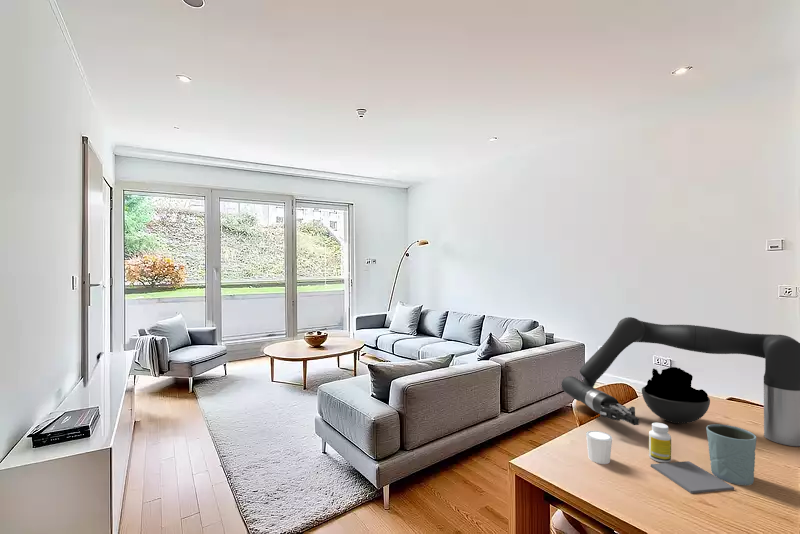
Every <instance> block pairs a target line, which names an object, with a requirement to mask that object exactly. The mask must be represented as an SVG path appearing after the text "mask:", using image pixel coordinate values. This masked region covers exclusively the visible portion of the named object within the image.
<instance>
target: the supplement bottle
mask: <svg viewBox="0 0 800 534" xmlns="http://www.w3.org/2000/svg"><path fill="white" fill-rule="evenodd" d="M668 432H669V426H668V425H667V424H665V423H662V422H652V423H651V430H649V432H648V457H649V458H650V459H651V460H653V461H655V462H658V463H671V461H672V437H671V435H670V433H668Z"/></svg>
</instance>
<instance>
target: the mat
mask: <svg viewBox="0 0 800 534" xmlns="http://www.w3.org/2000/svg"><path fill="white" fill-rule="evenodd" d="M650 467H651V468H653V469H654V470H655V471H657V472H658V473H660V474H661V475H663V476H664V477H666V478H667V479H669V481H672V482H673V483H675V484H676V485H678V486H679V487H681V488H682V489H684V490H685V491H687V492H688V493H690V494H700V493H711V492H721V491H731V490H735V487H734V486H733V485H731V484H729V482H726V481H724V480H721V479H719V478H718V477H716V476H715V475H713V473H711V472H708V471H706V470H705V469H703V468H701V467H700V466H699V465H696V464H695V463H693V462H691V461H690V460H685V461H684V460H683V461H674V462H668V463H663V462H658V463H650Z"/></svg>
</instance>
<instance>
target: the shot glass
mask: <svg viewBox="0 0 800 534" xmlns="http://www.w3.org/2000/svg"><path fill="white" fill-rule="evenodd" d="M585 437H586V447H587V457H588V459H589V460H590V461H591V462H593V463H595V462H596V463H595V464H599V465H607V464H609V463H610V462H611V457H612V456H611V455H612V453H611V452H612V445H613V443H612V442H613V436H612V435H611V434H609V433H607V432H604V431H600V430H588V431H587V432H586V433H585Z"/></svg>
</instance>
